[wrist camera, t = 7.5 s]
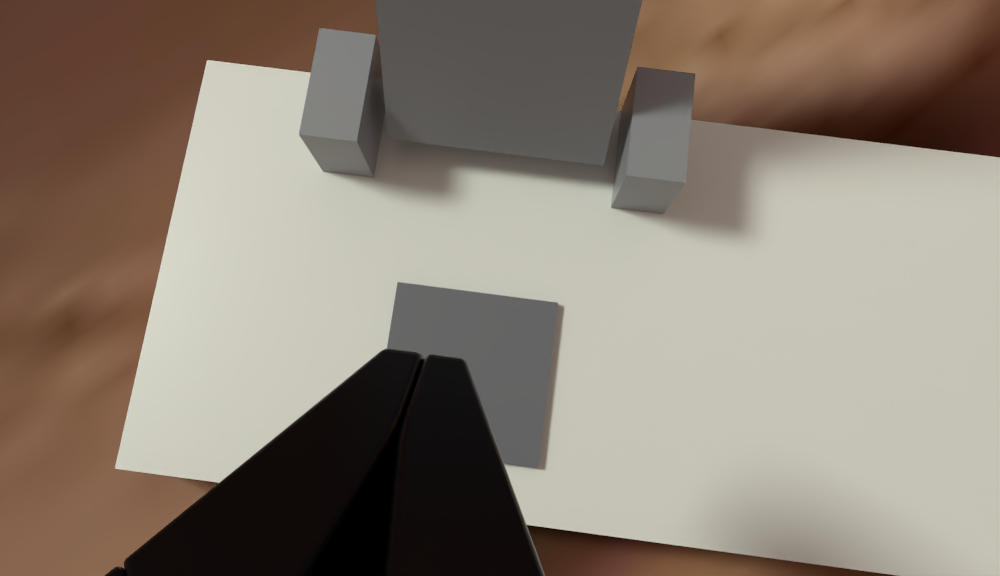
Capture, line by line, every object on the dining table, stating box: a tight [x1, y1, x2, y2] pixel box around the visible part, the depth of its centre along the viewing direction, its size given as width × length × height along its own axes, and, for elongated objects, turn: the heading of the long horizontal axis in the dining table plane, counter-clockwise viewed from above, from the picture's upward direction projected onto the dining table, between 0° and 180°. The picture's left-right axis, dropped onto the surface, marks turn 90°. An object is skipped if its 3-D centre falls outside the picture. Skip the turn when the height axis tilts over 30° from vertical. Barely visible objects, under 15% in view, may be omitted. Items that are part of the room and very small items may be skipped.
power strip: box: [115, 28, 1000, 576], centre depth 14 cm, size 8×25×3 cm, turn 83°
